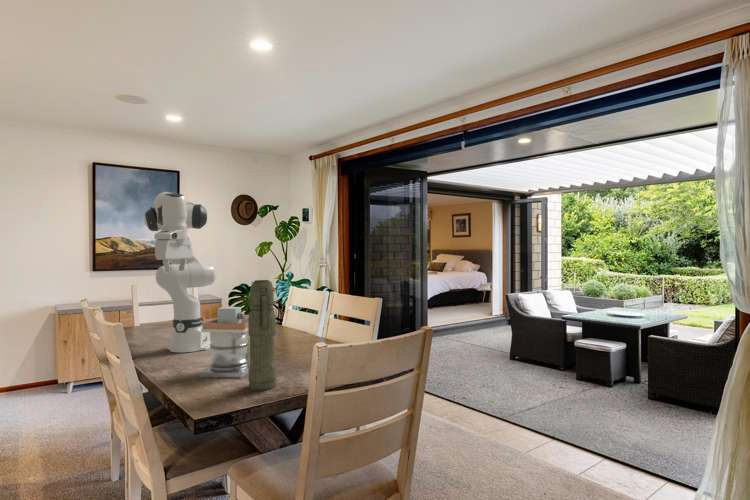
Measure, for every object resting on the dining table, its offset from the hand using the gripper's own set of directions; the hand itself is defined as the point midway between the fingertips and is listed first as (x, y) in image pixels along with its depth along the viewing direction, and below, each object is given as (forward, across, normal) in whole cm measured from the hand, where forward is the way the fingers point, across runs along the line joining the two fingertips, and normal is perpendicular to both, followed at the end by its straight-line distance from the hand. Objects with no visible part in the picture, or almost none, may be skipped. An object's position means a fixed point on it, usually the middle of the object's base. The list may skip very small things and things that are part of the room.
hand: (175, 271), depth 171 cm
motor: (+37, +3, +23) cm, 44 cm away
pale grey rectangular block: (+20, +3, +23) cm, 31 cm away
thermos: (+37, +20, +42) cm, 60 cm away
